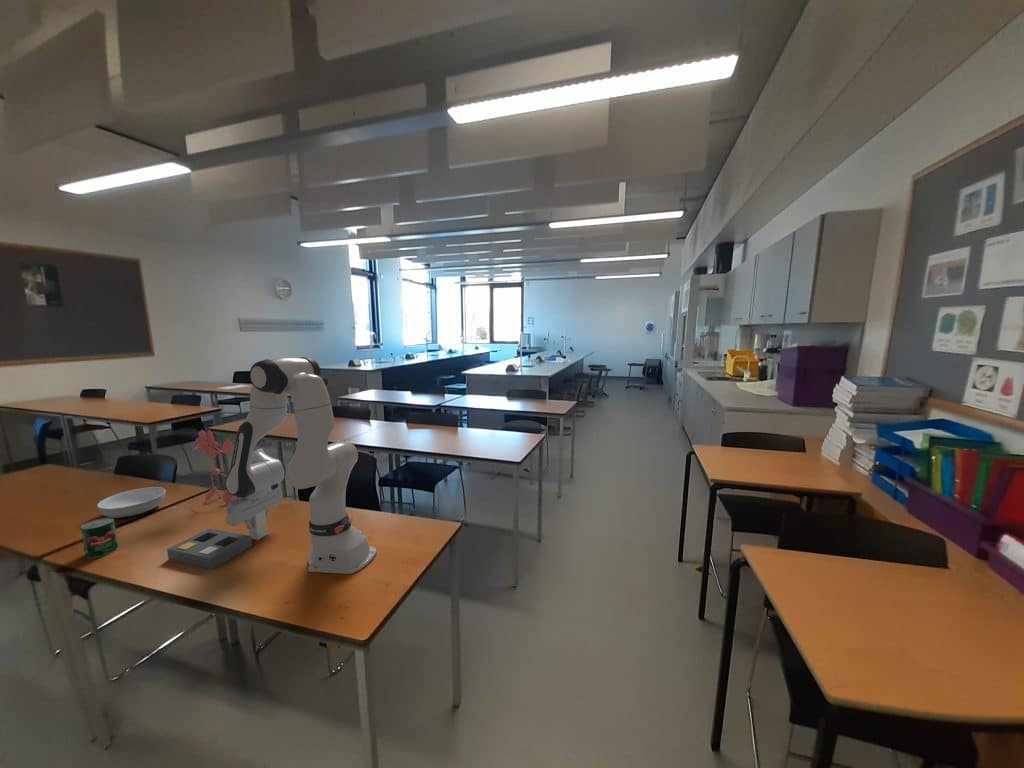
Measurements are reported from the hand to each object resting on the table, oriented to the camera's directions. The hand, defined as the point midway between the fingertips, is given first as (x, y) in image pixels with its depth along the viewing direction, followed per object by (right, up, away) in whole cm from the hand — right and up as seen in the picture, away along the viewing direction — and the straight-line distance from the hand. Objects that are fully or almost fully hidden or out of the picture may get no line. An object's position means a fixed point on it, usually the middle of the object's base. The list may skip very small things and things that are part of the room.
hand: (257, 524), depth 142 cm
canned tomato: (-49, -6, -10) cm, 50 cm away
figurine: (-38, -1, +27) cm, 47 cm away
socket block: (-9, -6, -10) cm, 15 cm away
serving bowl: (-67, -2, +20) cm, 70 cm away
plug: (0, -5, +1) cm, 5 cm away
